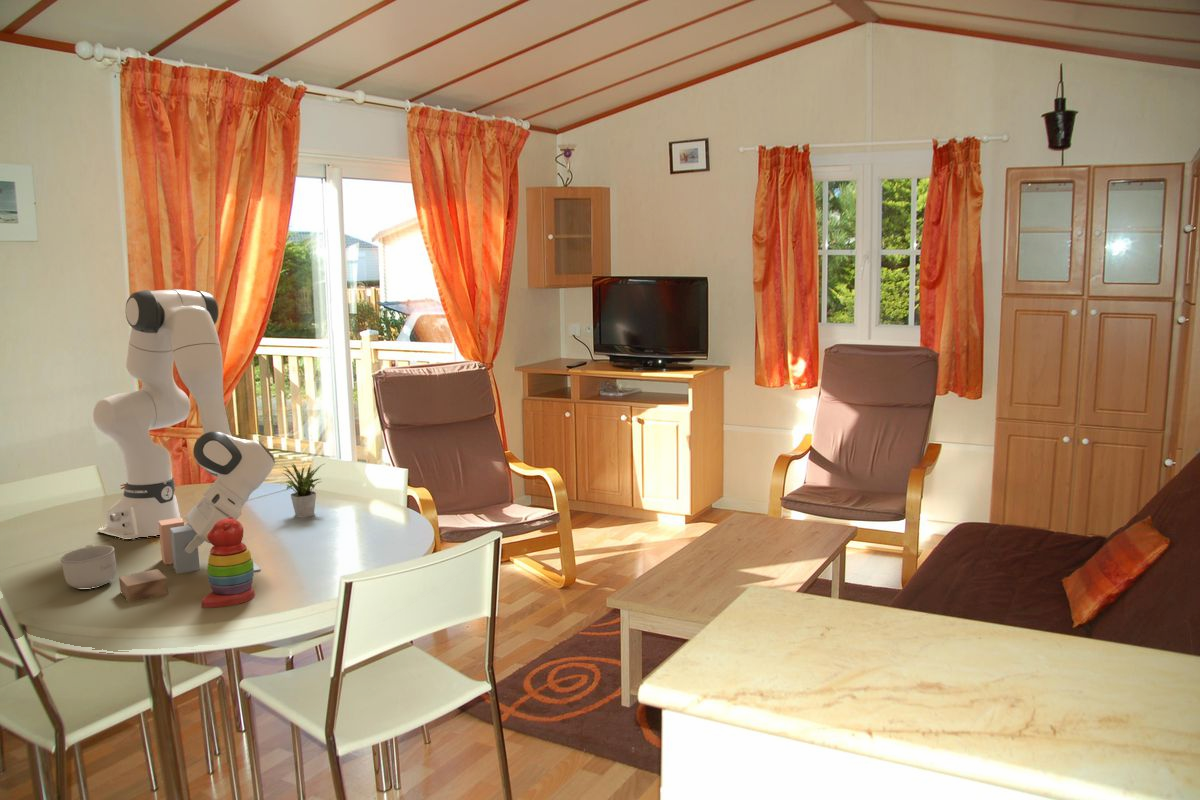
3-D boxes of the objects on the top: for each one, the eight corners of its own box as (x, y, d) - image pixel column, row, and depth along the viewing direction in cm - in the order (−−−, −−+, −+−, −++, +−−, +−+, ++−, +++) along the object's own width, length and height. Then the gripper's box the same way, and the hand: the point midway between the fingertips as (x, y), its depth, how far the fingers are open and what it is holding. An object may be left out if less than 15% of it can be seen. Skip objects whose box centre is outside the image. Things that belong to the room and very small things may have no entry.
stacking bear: (215, 590, 208) (208, 513, 205) (261, 588, 208) (256, 511, 206) (198, 608, 197) (191, 527, 194) (247, 606, 198) (241, 525, 195)
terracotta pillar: (165, 565, 226) (161, 525, 225) (161, 559, 230) (158, 520, 229) (187, 561, 229) (183, 521, 227) (183, 556, 233) (180, 517, 231)
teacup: (112, 590, 209) (108, 556, 208) (58, 596, 206) (54, 561, 205) (124, 571, 222) (121, 539, 221) (74, 576, 219) (70, 543, 218)
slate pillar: (177, 573, 219) (173, 533, 218) (173, 568, 224) (170, 528, 222) (199, 569, 222) (196, 529, 221) (195, 564, 226) (192, 524, 225)
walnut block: (128, 603, 201) (127, 586, 201) (120, 594, 207) (119, 576, 207) (168, 595, 206) (166, 577, 206) (159, 585, 212) (157, 568, 212)
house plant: (265, 521, 263) (261, 465, 261) (287, 508, 277) (283, 454, 274) (313, 522, 261) (309, 465, 259) (333, 509, 275) (329, 455, 273)
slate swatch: (234, 575, 217) (234, 574, 217) (228, 568, 222) (228, 567, 222) (260, 570, 220) (260, 569, 220) (254, 564, 225) (254, 562, 225)
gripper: (204, 484, 233) (165, 529, 229) (221, 501, 216) (179, 549, 212) (224, 499, 236) (186, 543, 232) (242, 516, 219) (201, 564, 215)
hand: (183, 546), depth 222 cm, fingers open, 8 cm apart
